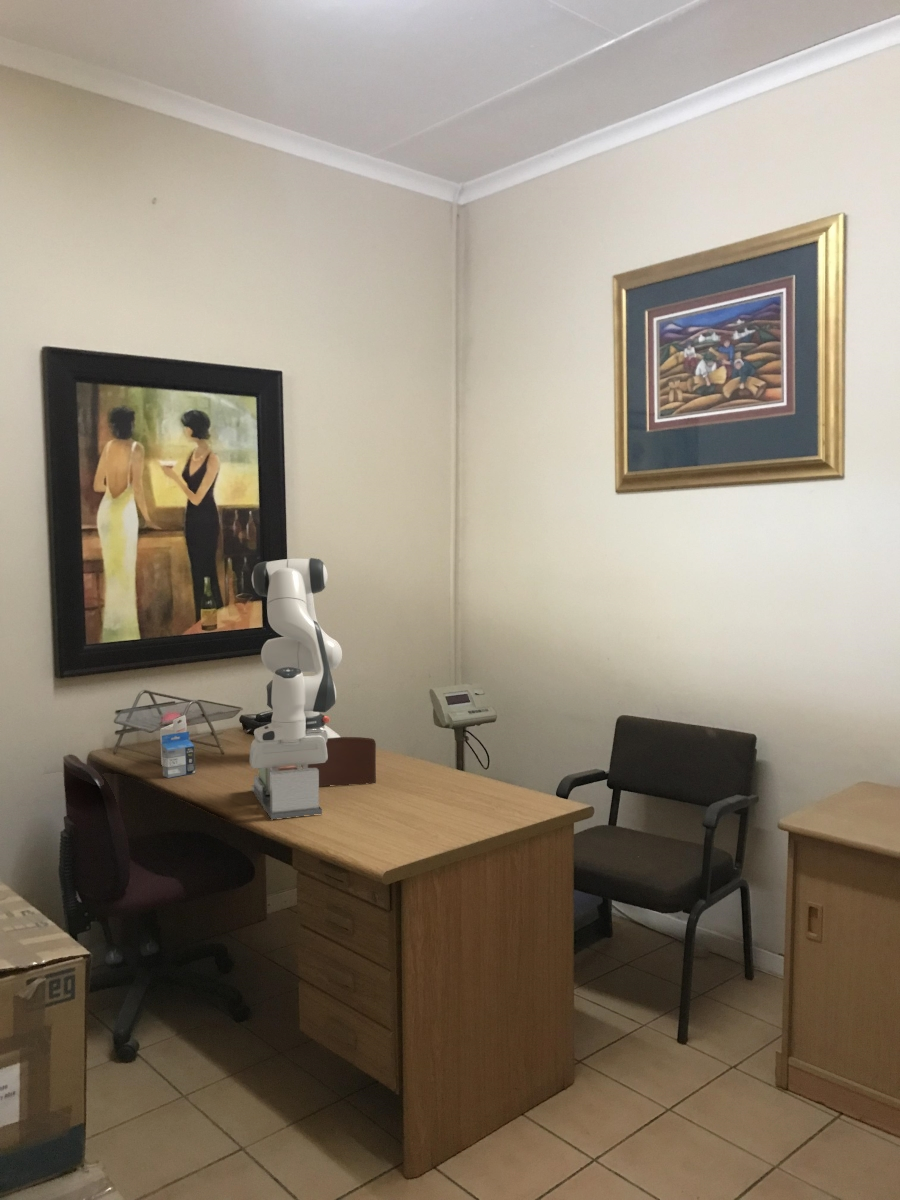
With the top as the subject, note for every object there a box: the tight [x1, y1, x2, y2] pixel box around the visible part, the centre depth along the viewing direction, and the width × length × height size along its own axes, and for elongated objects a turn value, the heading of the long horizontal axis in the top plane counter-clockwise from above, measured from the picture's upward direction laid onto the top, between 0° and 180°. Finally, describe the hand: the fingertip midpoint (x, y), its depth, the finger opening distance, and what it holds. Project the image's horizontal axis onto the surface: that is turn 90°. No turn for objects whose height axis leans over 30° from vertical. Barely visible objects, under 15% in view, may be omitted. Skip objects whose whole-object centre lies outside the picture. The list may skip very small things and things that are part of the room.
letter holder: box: [308, 736, 377, 787], centre depth 275 cm, size 10×20×14 cm, turn 104°
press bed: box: [251, 768, 323, 820], centre depth 254 cm, size 29×13×12 cm, turn 21°
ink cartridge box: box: [159, 714, 188, 765], centre depth 295 cm, size 9×5×15 cm, turn 168°
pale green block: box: [257, 765, 302, 795], centre depth 261 cm, size 12×10×9 cm
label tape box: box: [161, 730, 196, 779], centre depth 282 cm, size 9×4×12 cm, turn 131°
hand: (289, 781), depth 248 cm, fingers closed on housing, 4 cm apart
